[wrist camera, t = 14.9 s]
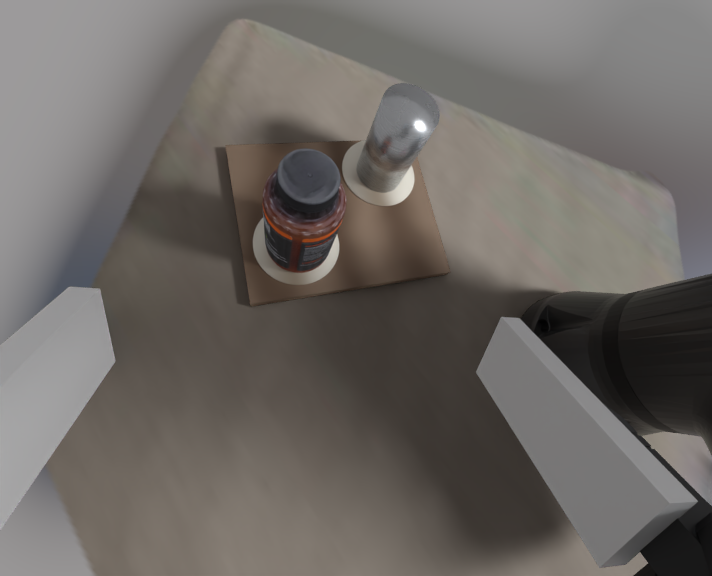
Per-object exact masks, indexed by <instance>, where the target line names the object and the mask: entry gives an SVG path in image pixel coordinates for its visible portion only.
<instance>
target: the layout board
mask: <svg viewBox="0 0 712 576" xmlns="http://www.w3.org/2000/svg"><path fill="white" fill-rule="evenodd" d="M365 142H366V140H363V141H337V142H307V143H277V144H247V145H225V146H226V152H227V159H228V165H229V172H230V178H231V184H232V191H233V197H234V204H235V210H236V217H237V223H238V229H239V236H240V242H241V249H242V255H243V262H244V268H245V274H246V281H247V287H248V294H249V300H250V306H251V307H252V306H258V305H264V304H270V303H277V302H283V301H289V300H295V299H301V298H307V297H313V296H319V295H326V294H332V293H338V292H344V291H350V290H356V289H362V288H369V287H375V286H381V285H387V284H393V283H399V282H405V281H411V280H418V279H424V278H430V277H436V276H442V275H447V274H448V273H450V268H449V265H448V261H447V258H446V255H445V251H444V248H443V244H442V241H441V238H440V234H439V231H438V227H437V224H436V220H435V217H434V214H433V210H432V207H431V203H430V200H429V197H428V193H427V190H426V186H425V183H424V180H423V176H422V173H421V169H420V166H419V162H418V159H417V157H416V159H415V160H414V162H413V164H412V165H411V167H410V168H409V170H408V171H407V173H406V174H405V176H404V178H403V179H402V181H401V182H400V184H399V185H398V187H397V188H396V189H394V190H393V191H390V192H386V193H379V192H375V191H372V190H370V189H369V188H367V187H366V186H365V185H364V184H363V183H362V182H361V181H360V179H359V177H358V175H357V170H356V167H357V162H358V160H359V157H360V155H361V152H362V149H363V147H364V144H365ZM304 148H308V149H314V150H317V151H320V152H322V153H324V154H326V155H327V156H328V157H330V158H331V159H332V160H333V161H334V163H335V164H336V166H337V167H338V170H339V173H340V178H341V181H340V182H341V184H342V186H343V188H344V191H345V194H346V201H347V202H346V211H345V215H344V217H343V220H342V222H341V225H340V227H339V230H338V233H337V235H336V237H335V240H334V242H333V245H332V247H331V250H330V252H329V254H328V256H327V258H326V259H325V261H324V262H323V263H322V264H321V265H320V266H319V267H317V268H316V269H314V270H312V271H309V272H305V273H294V272H290V271H287V270H284V269H282V268H281V267H279V266H278V265H276V264H275V263H274V262H273V260H272V259H271V258H270V256H269V254H268V252H267V249H266V244H265V234H264V219H263V199H262V198H263V189H264V186H265V183H266V181H267V179H268V178H269V176H270V175H271V174H272V173H273V172H274V171H275V170H276V169H277V168H278V166H279V163H280V161H281V160H282V159H283V157H284V156H286V155H287V154H288V153H290V152H292V151H294V150H297V149H304Z"/></svg>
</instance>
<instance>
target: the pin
mask: <svg viewBox="0 0 712 576" xmlns="http://www.w3.org/2000/svg"><path fill="white" fill-rule="evenodd" d="M439 116H440V114H439V109H438V106H437V104H436V102H435V101H434V99H433V98H432V97H431V96H430V95H429V94H428V93H427V92H426V91H425V90H423V89H422V88H420V87H418V86H415V85H412V84H407V83H400V84H395V85H393V86H391V87H389V88H388V89H387V90H386V92H385V93H384V95H383V98H382V100H381V103H380V106H379V108H378V111H377V113H376V116H375V118H374V121H373V124H372V126H371V129H370V131H369V134H368V136H367V139H366V142H365V144H364V147H363V149H362V152H361V155H360V157H359V160H358V162H357V167H356V170H357V175H358V177H359V179H360V181H361V182H362V183H363V184H364V185H365V186H366V187H367V188H369V189H370V190H372V191H375V192H379V193H386V192H390V191H393V190H394V189H396V188H397V187H398V185H399V184H400V182H401V181H402V179H403V178H404V176H405V174H406V173H407V171H408V170H409V168H410V167H411V165H412V164H413V162H414V160H415V159H416V157H417V156H418V154H419V153H420V151H421V149H422V148H423V146H424V145H425V143H426V142H427V140H428V139H429V137H430V135H431V134H432V132H433V131H434V129H435V128H436V126H437V124H438V122H439Z"/></svg>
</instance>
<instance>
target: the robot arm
mask: <svg viewBox="0 0 712 576" xmlns="http://www.w3.org/2000/svg"><path fill="white" fill-rule="evenodd" d="M114 363H115V356H114V352H113V347H112V342H111V338H110V333H109V328H108V324H107V319H106V314H105V310H104V305H103V300H102V296H101V291H100V289H98V288H84V287H68V288H67V289H66V290H65V291H64V292H62V293H61V294H60V295H59V296H58V297H57V298H55V299H54V300H53V301H52V302H51V303H49V304H48V305H47V306H46V307H45V308H43V309H42V310H41V311H40V312H39V313H38V314H36V315H35V316H34V317H33V318H32V319H30V320H29V321H28V322H27V323H26V324H25V325H23V326H22V327H21V328H20V329H19V330H17V331H16V332H15V333H14V334H13V335H12V336H10V337H9V338H8V339H7V340H5V342H3V343H2V344H1V345H0V530H1V529H2V527H3V526H4V524H5V523H6V521H7V520H8V518H9V517H10V515H11V514H12V512H13V511H14V509H15V508H16V507H17V505H18V504H19V502H20V501H21V499H22V498H23V496H24V495H25V493H26V492H27V490H28V489H29V488H30V486H31V484H32V483H33V482H34V480H35V479H36V477H37V476H38V474H39V473H40V471H41V470H42V469H43V467H44V466H45V464H46V463H47V461H48V460H49V458H50V457H51V455H52V454H53V452H54V451H55V449H56V448H57V447H58V445H59V444H60V442H61V441H62V439H63V438H64V436H65V435H66V433H67V432H68V430H69V429H70V427H71V426H72V425H73V423H74V422H75V420H76V419H77V417H78V416H79V414H80V413H81V411H82V410H83V408H84V407H85V405H86V404H87V403H88V401H89V400H90V398H91V397H92V395H93V394H94V392H95V391H96V389H97V388H98V386H99V385H100V383H101V382H102V381H103V379H104V378H105V376H106V375H107V373H108V372H109V370H110V369H111V367H112V366H113V364H114ZM476 373H477V375H478V376H479V378H480V380H481V381H482V383H483V384H484V386H485V387H486V389H487V391H488V392H489V394H490V395H491V397H492V399H493V400H494V402H495V403H496V405H497V406H498V408H499V410H500V411H501V413H502V414H503V416H504V417H505V419H506V421H507V422H508V424H509V425H510V427H511V429H512V430H513V432H514V433H515V435H516V436H517V438H518V440H519V441H520V443H521V444H522V446H523V448H524V449H525V451H526V452H527V454H528V455H529V457H530V459H531V460H532V462H533V463H534V465H535V466H536V468H537V470H538V471H539V473H540V474H541V476H542V478H543V479H544V481H545V482H546V484H547V485H548V487H549V489H550V490H551V492H552V493H553V495H554V497H555V498H556V500H557V501H558V503H559V504H560V506H561V508H562V509H563V511H564V512H565V514H566V515H567V517H568V519H569V520H570V522H571V523H572V525H573V527H574V528H575V530H576V531H577V533H578V534H579V536H580V538H581V539H582V541H583V542H584V544H585V545H586V547H587V549H588V550H589V552H590V553H591V555H592V557H593V558H594V560H595V561H596V563H597V564H598V566H599V568H601V567H610V566H619V565H625V564H627V563H628V562H629V561H630V560H631V559H632V558H634V557H635V556H636V555H637V554H638V553H639V552H641V554H642V555H643V556H644V558H645V559H646V560H647V562H648V564H647V565H646V566H645V567H643V568H642V569H641V570H640V571H639V572H637V573H636V574H635V575H634V576H712V506H711V505H710V504H709V503H708V502H706V501H705V500H704V499H703V498H702V497H701V496H700V495H699V494H698V493H697V492H696V491H695V490H694V489H693V488H692V487H691V486H690V485H689V484H688V483H687V482H686V481H685V480H684V479H683V478H682V477H681V476H680V475H679V474H678V473H677V472H676V471H675V470H674V469H673V468H672V467H671V466H670V465H669V464H668V462H667V461H666V460H665V459H664V458H663V457H662V456H661V455H660V454H659V453H658V452H657V451H656V450H655V449H651V447H650V446H651V445H650V444H649V443H648V442H647V441H646V440H645V439H644V438H643V437H642V436H643V435H648V434H653V433H658V432H662V431H664V432H673V433H681V434H688V435H695V436H701V437H702V438H703V439H704V441H705V443H706V445H707V447H708V449H709V451H710V453H711V455H712V274H708V275H704V276H700V277H695V278H691V279H687V280H683V281H678V282H674V283H670V284H666V285H661V286H657V287H653V288H649V289H645V290H641V291H637V292H633V293H628V294H614V293H597V292H580V291H572V292H564V293H560V294H557V295H553V296H550V297H547V298H544V299H542V300H539V301H538V302H536V303H535V304H533V305H532V306H531V307H530V308H529V309H528V310H527V311H526V312H525V314H524V315H523V316H522V318H521V319H520V318H511V317H501V318H500V321H499V323H498V325H497V327H496V329H495V332H494V334H493V336H492V338H491V340H490V342H489V345H488V347H487V349H486V351H485V353H484V356H483V358H482V360H481V362H480V364H479V366H478V369H477V371H476Z"/></svg>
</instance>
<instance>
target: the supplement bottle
mask: <svg viewBox="0 0 712 576" xmlns="http://www.w3.org/2000/svg"><path fill="white" fill-rule="evenodd" d="M340 181H341V178H340V173H339V170H338V167H337V166H336V164H335V163H334V161H333V160H332V159H331V158H330V157H328V156H327V155H326V154H324V153H322V152H320V151H317V150H314V149H308V148H304V149H297V150H294V151H292V152H290V153H288V154H287V155H286V156H284V157H283V159H282V160H281V161H280V163H279V166H278V168H277V169H276V170H275V171H274V172H273V173H272V174H271V175H270V176H269V178H268V179H267V181H266V183H265V186H264V189H263V198H262V199H263V219H264V234H265V244H266V249H267V252H268V254H269V256H270V258H271V259H272V260H273V262H274V263H275V264H276V265H278V266H279V267H281V268H282V269H284V270H287V271H290V272H294V273H305V272H309V271H312V270H314V269H316V268H317V267H319V266H320V265H321V264H322V263H323V262H324V261H325V259H326V258H327V256H328V254H329V252H330V250H331V247H332V245H333V242H334V240H335V237H336V235H337V233H338V230H339V227H340V225H341V222H342V220H343V217H344V215H345V211H346V202H347V201H346V194H345V191H344V188H343V186H342V184H341V182H340Z"/></svg>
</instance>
